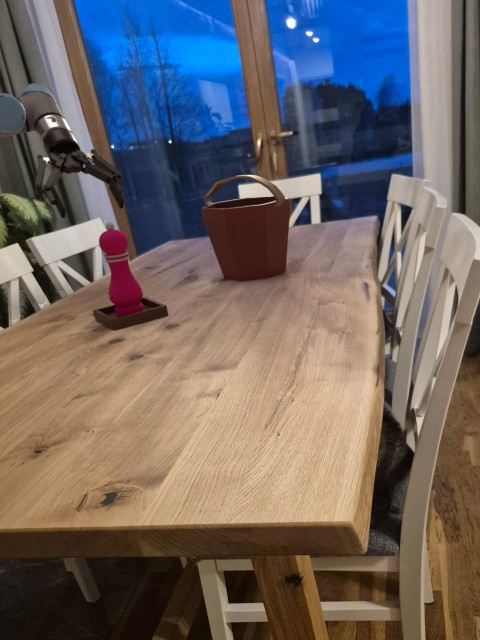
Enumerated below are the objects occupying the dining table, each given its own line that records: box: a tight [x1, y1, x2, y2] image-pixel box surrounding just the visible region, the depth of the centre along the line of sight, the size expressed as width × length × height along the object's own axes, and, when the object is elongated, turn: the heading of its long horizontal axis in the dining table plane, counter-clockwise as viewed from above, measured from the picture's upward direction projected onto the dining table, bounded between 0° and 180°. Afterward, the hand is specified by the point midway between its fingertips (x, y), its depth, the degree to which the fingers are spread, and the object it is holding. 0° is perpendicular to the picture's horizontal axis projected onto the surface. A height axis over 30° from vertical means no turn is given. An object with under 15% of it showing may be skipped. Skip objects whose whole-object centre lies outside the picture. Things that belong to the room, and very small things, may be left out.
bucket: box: [200, 174, 291, 282], centre depth 153 cm, size 24×22×25 cm
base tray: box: [92, 296, 169, 331], centre depth 130 cm, size 13×13×2 cm
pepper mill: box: [98, 221, 144, 317], centre depth 125 cm, size 7×7×20 cm
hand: (93, 209), depth 132 cm, fingers open, 13 cm apart
